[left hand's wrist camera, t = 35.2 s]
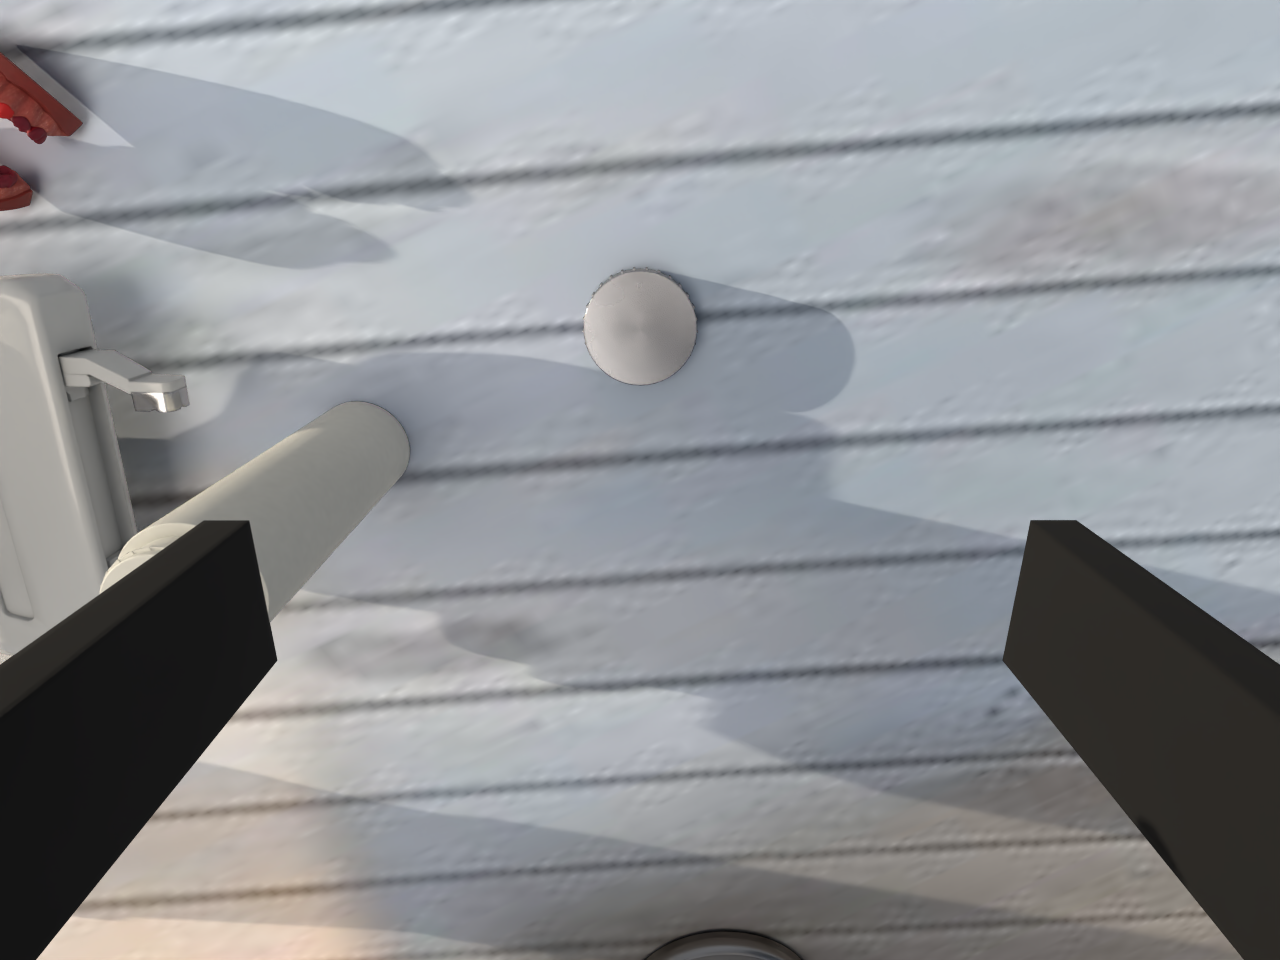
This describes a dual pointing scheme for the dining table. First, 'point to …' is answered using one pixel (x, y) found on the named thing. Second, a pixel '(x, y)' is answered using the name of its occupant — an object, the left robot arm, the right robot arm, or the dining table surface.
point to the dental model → (28, 124)
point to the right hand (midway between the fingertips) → (197, 484)
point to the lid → (640, 326)
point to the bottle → (292, 498)
